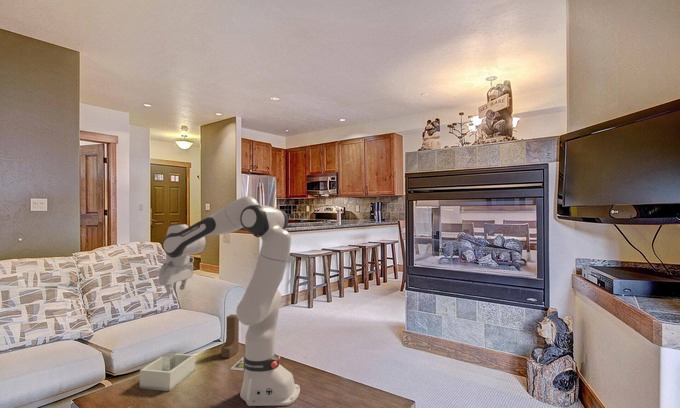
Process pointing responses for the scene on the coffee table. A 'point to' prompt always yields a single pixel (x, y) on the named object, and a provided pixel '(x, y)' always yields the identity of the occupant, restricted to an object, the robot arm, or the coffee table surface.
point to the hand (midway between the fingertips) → (176, 291)
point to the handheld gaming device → (239, 365)
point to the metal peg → (168, 362)
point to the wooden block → (231, 337)
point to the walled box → (167, 373)
